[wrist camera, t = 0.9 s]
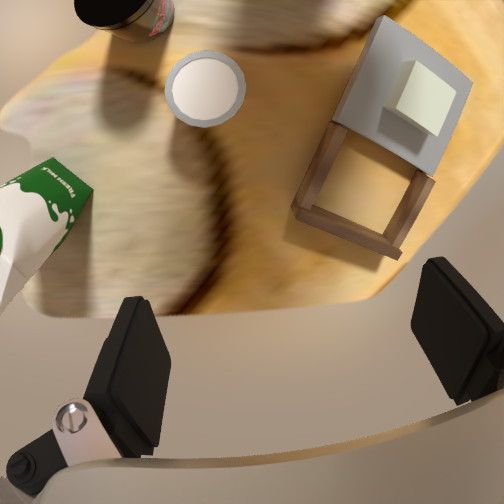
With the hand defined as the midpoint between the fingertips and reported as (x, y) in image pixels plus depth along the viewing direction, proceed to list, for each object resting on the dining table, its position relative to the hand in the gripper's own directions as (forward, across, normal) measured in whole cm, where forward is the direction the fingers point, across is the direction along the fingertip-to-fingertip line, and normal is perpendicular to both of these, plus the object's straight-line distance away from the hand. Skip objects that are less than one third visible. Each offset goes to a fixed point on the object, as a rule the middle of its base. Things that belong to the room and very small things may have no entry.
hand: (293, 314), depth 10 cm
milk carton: (+26, +24, +1) cm, 36 cm away
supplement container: (+27, +9, -18) cm, 33 cm away
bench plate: (+26, -18, -6) cm, 33 cm away
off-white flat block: (+24, -18, -6) cm, 31 cm away
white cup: (+27, +3, -7) cm, 28 cm away
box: (+26, -12, +5) cm, 30 cm away
